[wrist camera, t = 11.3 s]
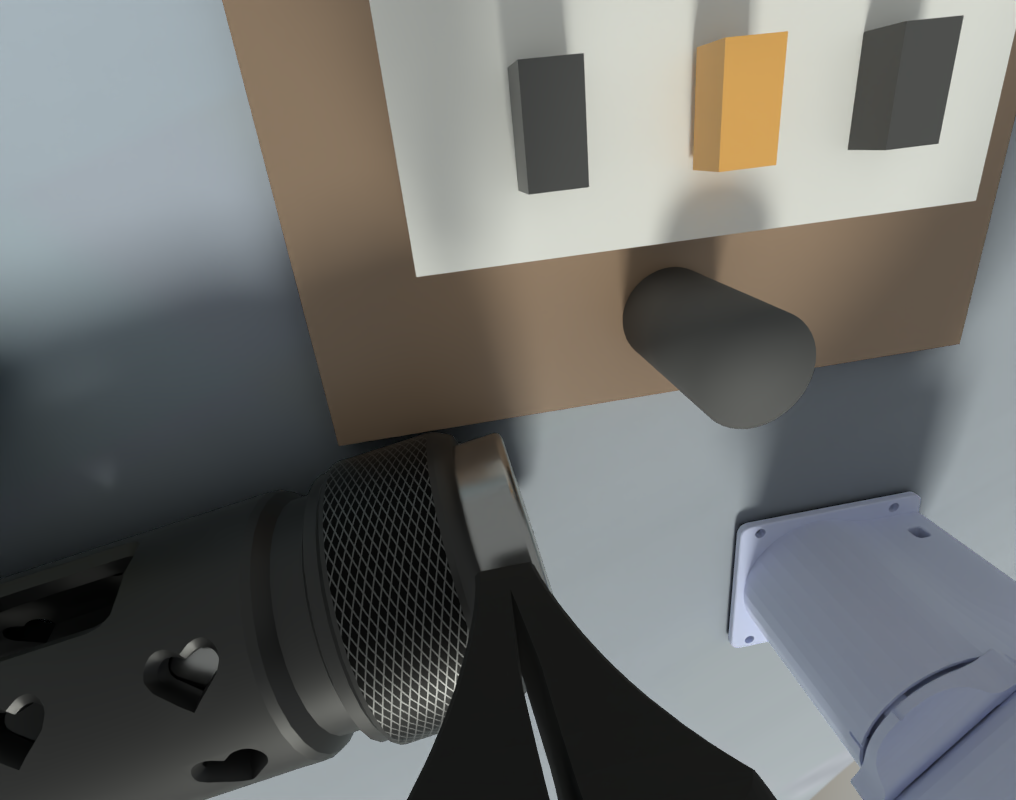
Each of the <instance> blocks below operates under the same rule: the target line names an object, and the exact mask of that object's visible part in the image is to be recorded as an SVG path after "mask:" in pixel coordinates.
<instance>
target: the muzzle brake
mask: <svg viewBox="0 0 1016 800" xmlns="http://www.w3.org/2000/svg"><path fill="white" fill-rule="evenodd" d="M527 562H530V563H532V564H534V565H535V567H536V569H537V571H538V573H539V574H540V576H541V578H542V579H543V581H544V583H545V584H546V586H547V587H548V589H549V590H550V592H551V593H552V590H551V587H550V583H549V580H548V577H547V574H546V571H545V567H544V564H543V561H542V558H541V555H540V552H539V548H538V545H537V542H536V539H535V536H534V533H533V530H532V527H531V523H530V520H529V517H528V514H527V511H526V508H525V505H524V502H523V499H522V495H521V492H520V489H519V486H518V483H517V480H516V477H515V474H514V471H513V468H512V465H511V462H510V459H509V456H508V453H507V450H506V447H505V444H504V441H503V439H502V437H501V435H500V434H499V433H492V434H489V435H486V436H483V437H480V438H477V439H474V440H471V441H467V442H464V443H461V444H458V443H457V441H456V439H455V438H454V437H453V436H452V435H448V434H442V433H438V432H431V433H426V434H423V435H420V436H416V437H413V438H410V439H407V440H404V441H401V442H398V443H395V444H392V445H388V446H385V447H382V448H379V449H376V450H373V451H370V452H367V453H364V454H360V455H357V456H354V457H351V458H348V459H345V460H342V461H339V462H337V463H335V464H334V465H333V466H332V467H331V468H330V469H329V470H328V472H327V473H326V474H323V475H321V476H320V477H318V478H317V479H316V480H315V481H314V483H313V485H312V487H311V489H310V491H309V494H308V495H306V496H303V497H302V496H300V495H299V494H297V493H294V492H289V491H282V490H277V491H273V492H270V493H266V494H263V495H260V496H257V497H254V498H251V499H248V500H244V501H241V502H238V503H235V504H232V505H229V506H226V507H223V508H220V509H216V510H213V511H210V512H207V513H204V514H201V515H198V516H195V517H192V518H188V519H185V520H182V521H179V522H176V523H173V524H170V525H167V526H164V527H160V528H157V529H154V530H151V531H148V532H145V533H142V534H139V535H136V536H132V537H129V538H126V539H123V540H120V541H117V542H114V543H111V544H108V545H104V546H101V547H98V548H95V549H92V550H89V551H86V552H83V553H80V554H76V555H73V556H70V557H67V558H64V559H61V560H58V561H55V562H51V563H48V564H45V565H42V566H39V567H36V568H33V569H30V570H27V571H23V572H20V573H17V574H14V575H11V576H8V577H5V578H2V579H0V800H205V799H208V798H211V797H214V796H217V795H220V794H223V793H226V792H229V791H233V790H236V789H239V788H242V787H245V786H248V785H251V784H254V783H257V782H260V781H263V780H266V779H269V778H272V777H275V776H278V775H281V774H284V773H287V772H290V771H293V770H296V769H299V768H302V767H305V766H308V765H312V764H315V763H318V762H321V761H324V760H327V759H329V758H332V757H334V756H335V755H336V754H337V753H338V752H339V751H340V750H341V749H342V748H343V747H344V746H345V745H346V744H347V743H348V742H349V741H350V739H351V737H352V735H353V733H354V732H355V731H358V730H361V731H362V732H363V733H365V734H366V735H367V736H368V737H369V738H370V739H372V740H376V741H380V742H384V741H387V740H390V741H391V742H393V743H397V744H400V745H403V744H408V743H411V742H414V741H417V740H420V739H423V738H426V737H429V736H432V735H435V734H438V733H439V730H440V728H441V725H442V723H443V720H444V718H445V715H446V712H447V709H448V707H449V704H450V701H451V698H452V695H453V692H454V689H455V686H456V683H457V680H458V676H459V673H460V669H461V665H462V662H463V658H464V654H465V651H466V646H467V642H468V637H469V632H470V627H471V622H472V616H473V609H474V601H475V576H476V575H477V573H478V572H480V571H485V570H491V569H496V568H501V567H506V566H511V565H517V564H522V563H527ZM552 594H553V593H552ZM34 619H46V620H49V621H51V622H52V623H53V624H51V623H45V622H39V621H33V620H34ZM521 674H522V673H521ZM522 683H523V691H524V694H525V693H526V691H527V690H526V687H525V683H524V680H523V677H522Z"/></svg>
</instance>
